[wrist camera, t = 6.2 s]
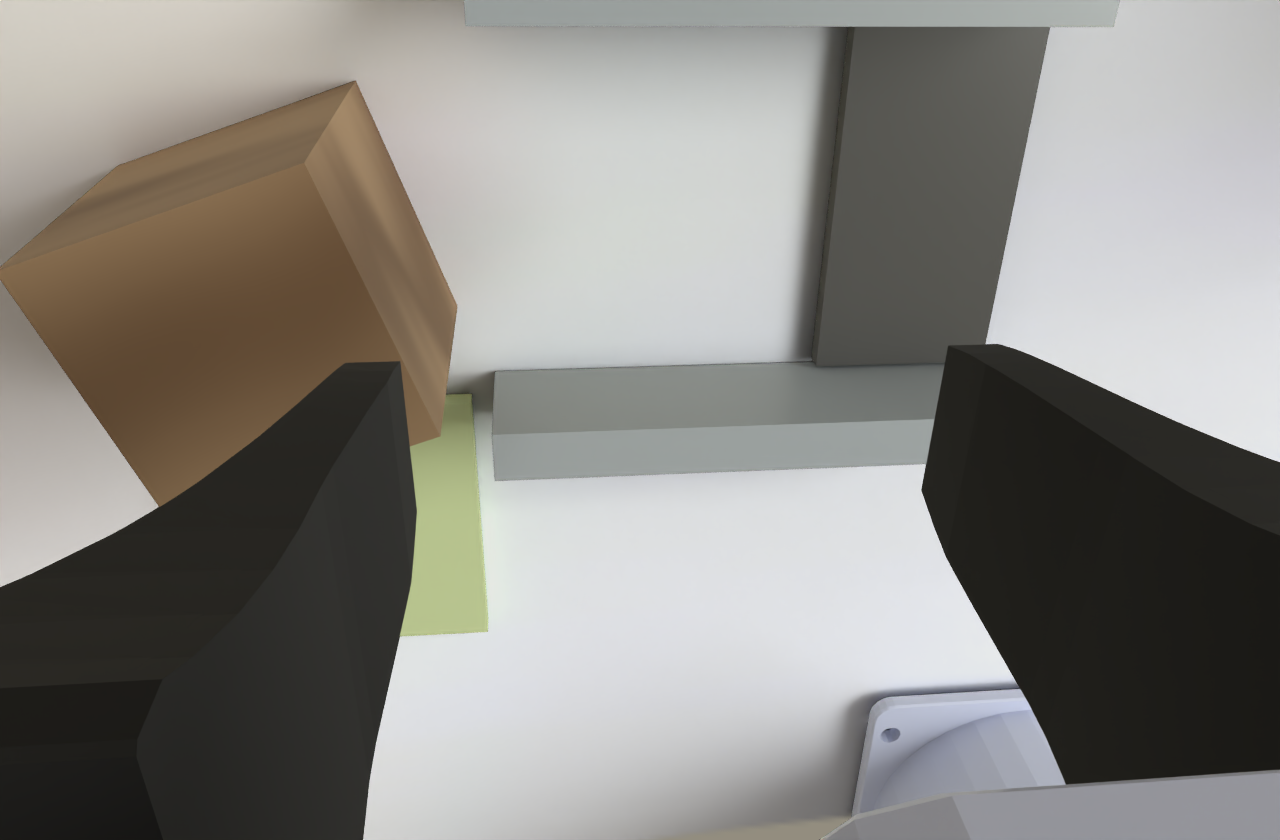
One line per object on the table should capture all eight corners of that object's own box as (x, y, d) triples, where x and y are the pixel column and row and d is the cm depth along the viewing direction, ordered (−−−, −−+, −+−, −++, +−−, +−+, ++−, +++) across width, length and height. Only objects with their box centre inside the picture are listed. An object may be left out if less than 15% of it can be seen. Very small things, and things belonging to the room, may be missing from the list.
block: (457, 304, 20) (440, 436, 16) (244, 376, 20) (171, 524, 16) (355, 79, 18) (303, 162, 14) (118, 164, 18) (-6, 272, 14)
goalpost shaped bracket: (965, 398, 22) (1012, 461, 20) (497, 414, 21) (494, 480, 19) (1056, -60, 18) (1130, -44, 16) (468, -65, 17) (460, -49, 15)
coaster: (488, 620, 24) (487, 631, 24) (221, 634, 24) (217, 645, 23) (471, 393, 21) (470, 403, 21) (165, 403, 21) (159, 413, 20)
